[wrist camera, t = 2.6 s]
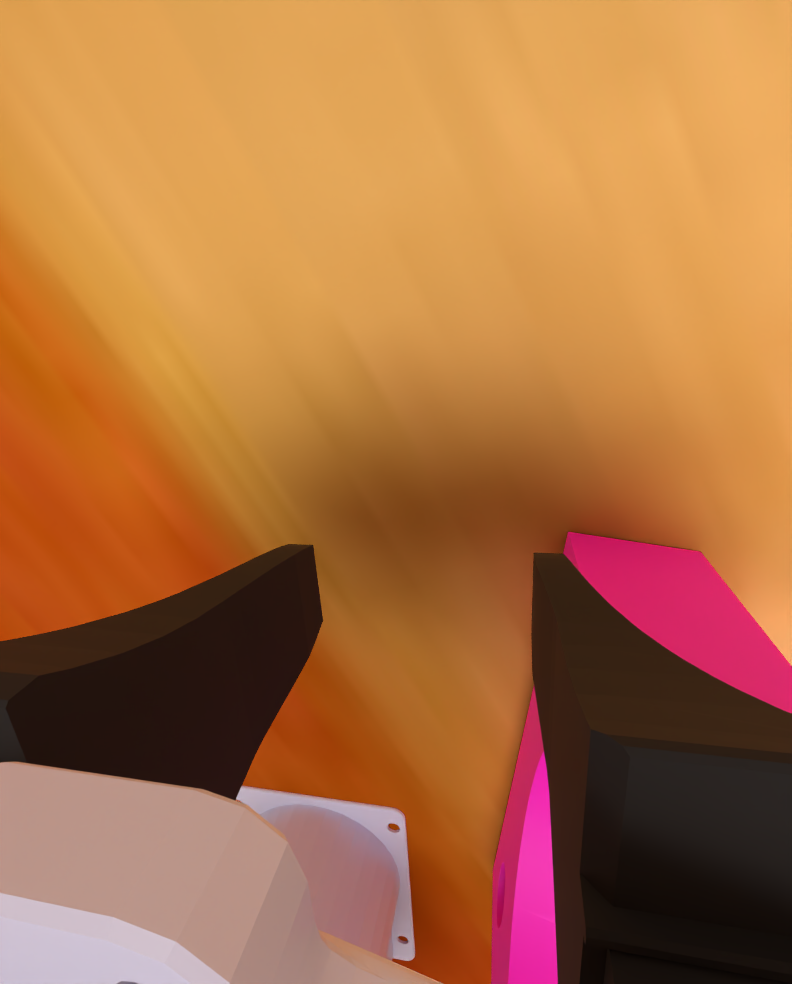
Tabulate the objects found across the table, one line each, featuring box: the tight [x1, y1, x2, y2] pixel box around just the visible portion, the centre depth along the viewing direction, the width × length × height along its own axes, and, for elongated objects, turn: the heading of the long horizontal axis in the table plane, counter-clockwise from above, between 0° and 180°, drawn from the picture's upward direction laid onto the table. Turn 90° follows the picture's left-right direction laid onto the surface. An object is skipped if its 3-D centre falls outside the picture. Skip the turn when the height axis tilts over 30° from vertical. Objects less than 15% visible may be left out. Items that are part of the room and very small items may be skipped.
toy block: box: [491, 532, 792, 984], centre depth 15 cm, size 15×6×8 cm, turn 175°
